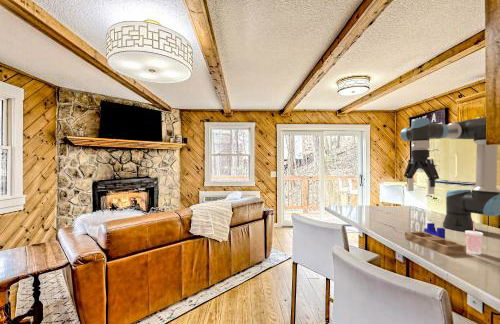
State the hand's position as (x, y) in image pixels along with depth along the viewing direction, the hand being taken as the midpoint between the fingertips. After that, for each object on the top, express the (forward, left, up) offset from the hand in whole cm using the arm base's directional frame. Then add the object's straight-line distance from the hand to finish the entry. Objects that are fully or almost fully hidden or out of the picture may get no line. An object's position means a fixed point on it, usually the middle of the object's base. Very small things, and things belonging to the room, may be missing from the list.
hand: (420, 192), depth 130 cm
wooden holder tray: (-2, +6, -25) cm, 25 cm away
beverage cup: (-12, +17, -25) cm, 32 cm away
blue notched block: (-15, -8, -25) cm, 31 cm away
